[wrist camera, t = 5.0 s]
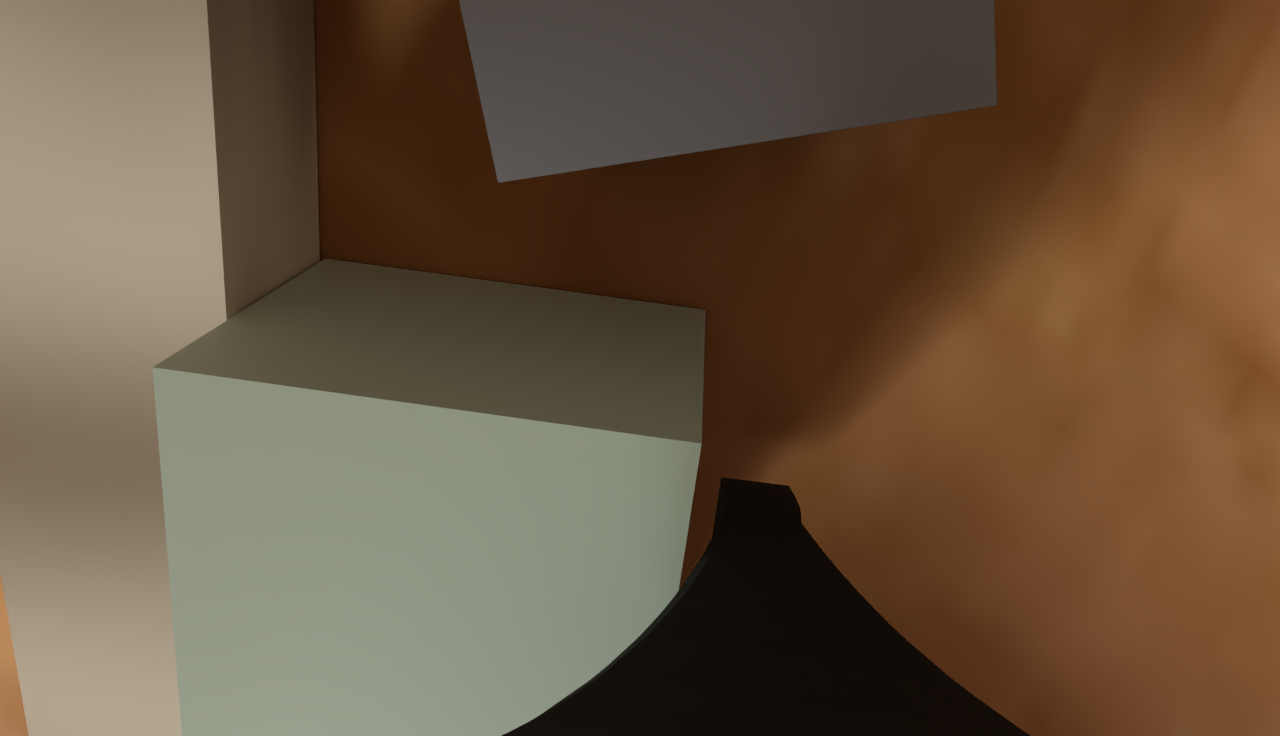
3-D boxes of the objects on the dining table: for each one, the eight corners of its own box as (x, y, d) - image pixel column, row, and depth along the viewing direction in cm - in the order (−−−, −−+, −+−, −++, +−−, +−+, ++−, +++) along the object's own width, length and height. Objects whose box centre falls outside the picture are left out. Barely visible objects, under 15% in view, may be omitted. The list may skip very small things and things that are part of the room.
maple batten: (337, 1011, 17) (279, 1165, 15) (180, 988, 17) (98, 1139, 15) (296, -723, 9) (145, -994, 6) (-16, -752, 9) (-280, -1027, 6)
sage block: (658, 628, 14) (637, 856, 10) (328, 580, 14) (186, 788, 10) (705, 309, 12) (701, 443, 8) (325, 258, 12) (152, 366, 8)
